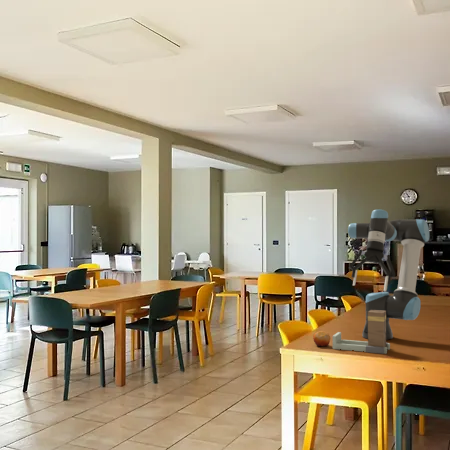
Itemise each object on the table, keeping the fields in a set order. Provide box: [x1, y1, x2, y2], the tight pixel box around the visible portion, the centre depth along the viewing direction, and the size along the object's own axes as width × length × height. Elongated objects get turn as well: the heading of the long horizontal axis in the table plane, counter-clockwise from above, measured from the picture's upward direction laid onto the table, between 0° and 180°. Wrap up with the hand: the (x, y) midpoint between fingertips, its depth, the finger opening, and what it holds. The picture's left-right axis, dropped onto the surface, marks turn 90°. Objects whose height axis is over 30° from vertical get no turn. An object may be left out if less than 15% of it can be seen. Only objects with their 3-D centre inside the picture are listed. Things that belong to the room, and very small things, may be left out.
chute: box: [332, 331, 391, 355], centre depth 258 cm, size 13×24×6 cm, turn 65°
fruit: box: [312, 330, 331, 347], centre depth 265 cm, size 8×8×8 cm
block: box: [367, 310, 387, 347], centre depth 255 cm, size 7×7×18 cm
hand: (369, 288), depth 243 cm, fingers open, 13 cm apart
